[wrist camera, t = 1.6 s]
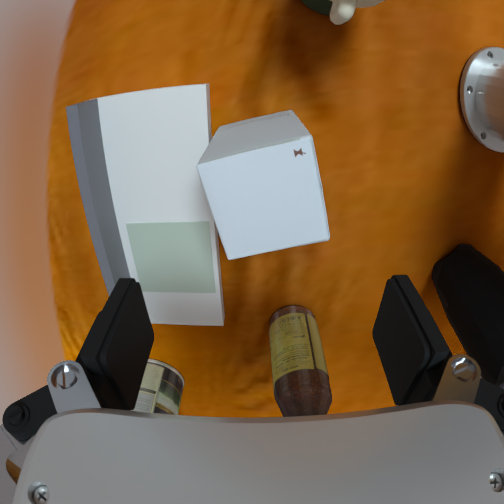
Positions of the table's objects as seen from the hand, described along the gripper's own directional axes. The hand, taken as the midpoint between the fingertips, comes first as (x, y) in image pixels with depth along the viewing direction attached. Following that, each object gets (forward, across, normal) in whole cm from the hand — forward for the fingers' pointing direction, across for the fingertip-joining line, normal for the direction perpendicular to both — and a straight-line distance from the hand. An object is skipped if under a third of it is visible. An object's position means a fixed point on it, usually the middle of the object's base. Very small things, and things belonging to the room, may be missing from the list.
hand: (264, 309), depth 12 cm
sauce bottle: (+22, -5, +22) cm, 32 cm away
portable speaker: (+22, -27, +14) cm, 37 cm away
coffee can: (+23, +17, +36) cm, 46 cm away
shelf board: (+22, +10, +7) cm, 25 cm away
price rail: (+20, +16, +7) cm, 27 cm away
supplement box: (+22, -1, 0) cm, 22 cm away
